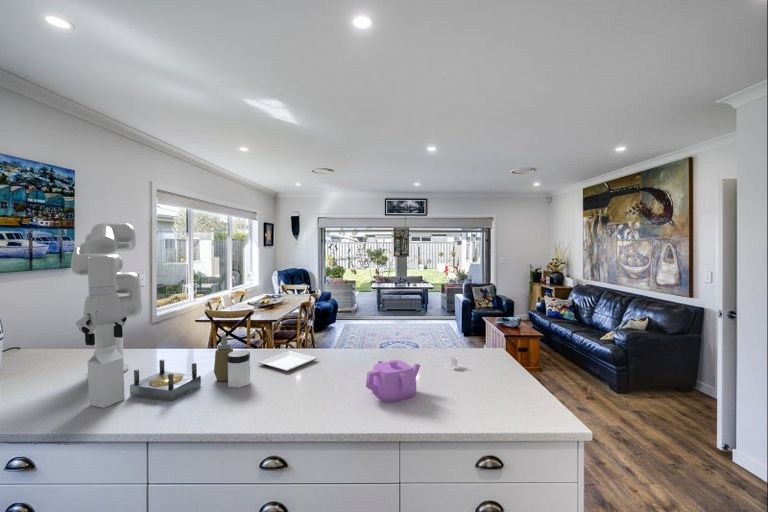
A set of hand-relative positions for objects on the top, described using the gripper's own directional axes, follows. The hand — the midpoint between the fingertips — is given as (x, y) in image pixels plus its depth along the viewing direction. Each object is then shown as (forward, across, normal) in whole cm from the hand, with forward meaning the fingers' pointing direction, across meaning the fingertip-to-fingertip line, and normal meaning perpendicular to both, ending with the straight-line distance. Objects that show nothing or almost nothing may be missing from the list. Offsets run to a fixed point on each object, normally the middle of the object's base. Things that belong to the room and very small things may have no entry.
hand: (104, 341), depth 125 cm
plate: (+22, -51, +41) cm, 69 cm away
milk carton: (+22, 0, 0) cm, 22 cm away
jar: (+22, -26, +34) cm, 48 cm away
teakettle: (+22, -33, +94) cm, 102 cm away
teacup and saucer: (+23, -64, +112) cm, 131 cm away
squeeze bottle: (+22, -28, +25) cm, 44 cm away
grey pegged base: (+22, -13, +12) cm, 28 cm away
